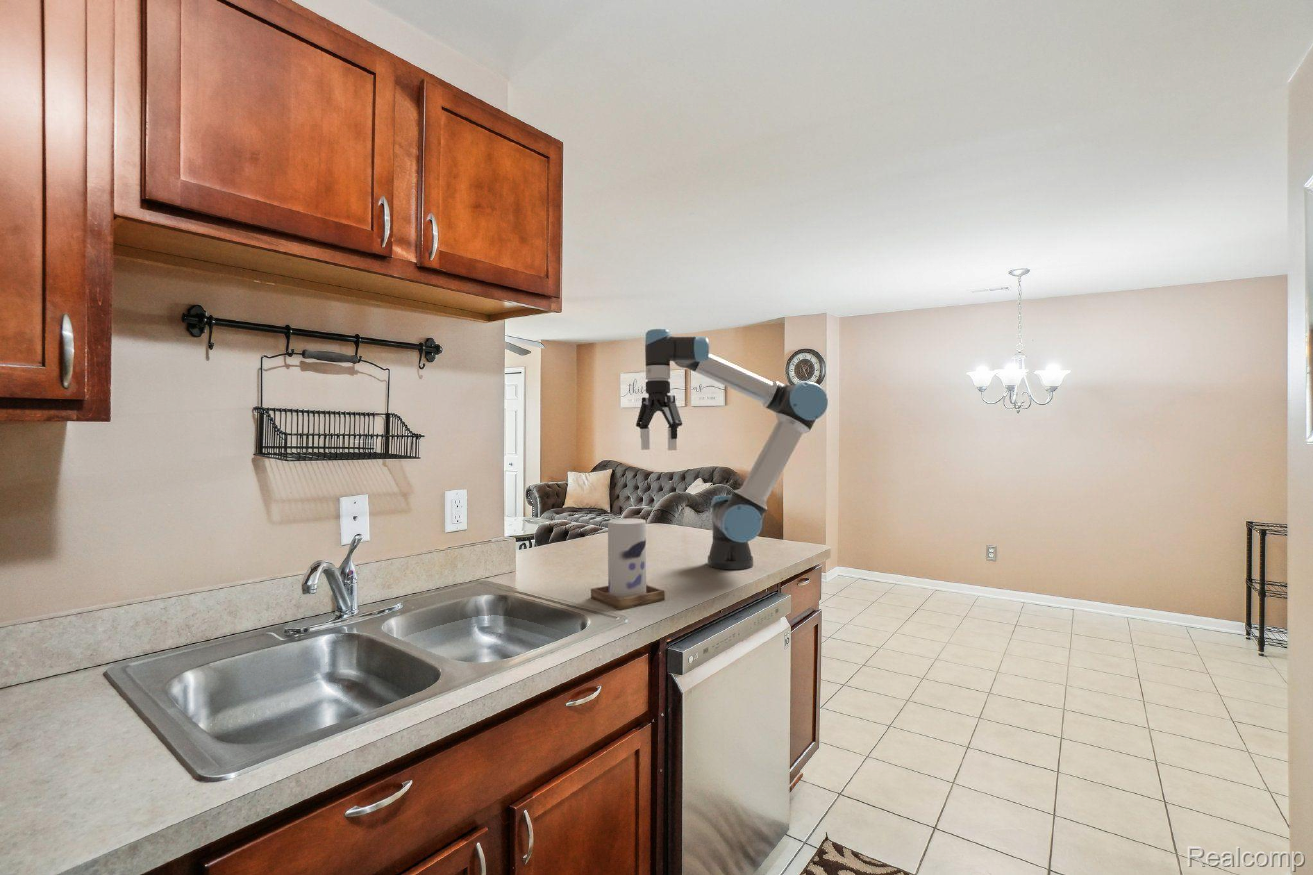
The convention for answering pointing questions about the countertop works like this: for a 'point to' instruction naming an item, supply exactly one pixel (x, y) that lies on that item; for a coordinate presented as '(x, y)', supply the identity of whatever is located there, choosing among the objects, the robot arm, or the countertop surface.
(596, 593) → the stand
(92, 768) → the countertop surface
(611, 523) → the container
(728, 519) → the robot arm
